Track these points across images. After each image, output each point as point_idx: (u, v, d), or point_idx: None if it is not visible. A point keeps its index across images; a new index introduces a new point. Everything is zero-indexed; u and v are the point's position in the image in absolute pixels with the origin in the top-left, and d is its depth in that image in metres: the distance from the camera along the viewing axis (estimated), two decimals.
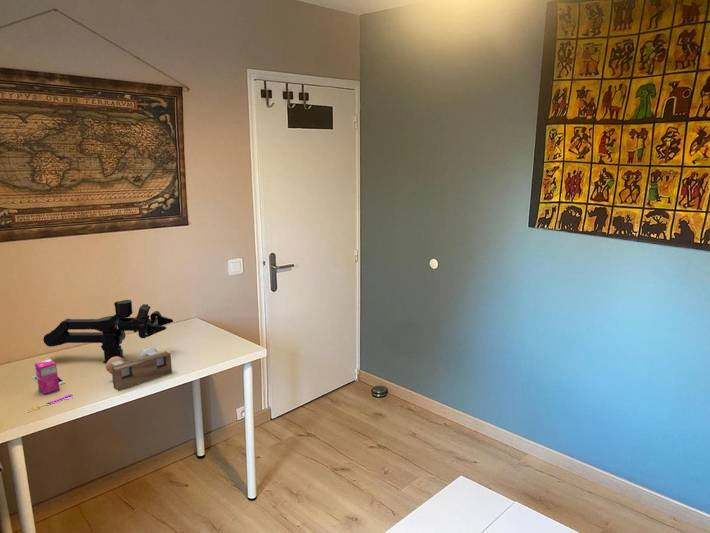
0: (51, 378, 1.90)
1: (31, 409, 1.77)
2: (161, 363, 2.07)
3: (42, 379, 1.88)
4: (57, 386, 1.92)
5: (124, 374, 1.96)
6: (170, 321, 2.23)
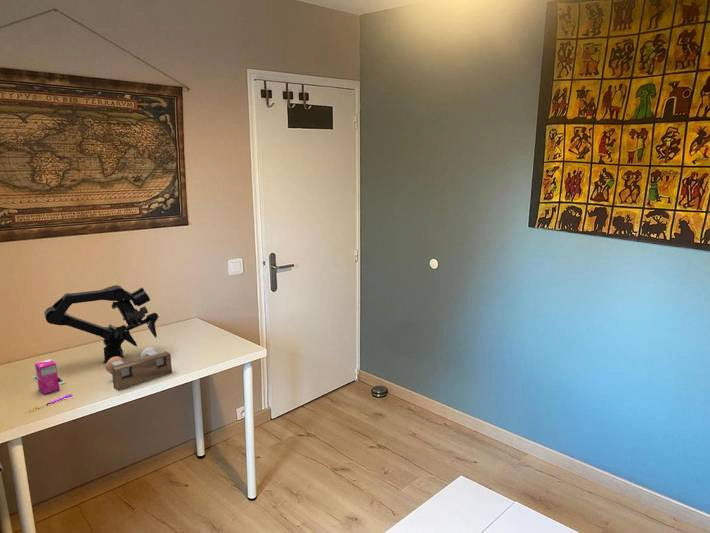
0: (51, 378, 1.90)
1: (31, 409, 1.77)
2: (161, 363, 2.07)
3: (42, 379, 1.88)
4: (57, 386, 1.92)
5: (124, 374, 1.96)
6: (154, 335, 2.21)
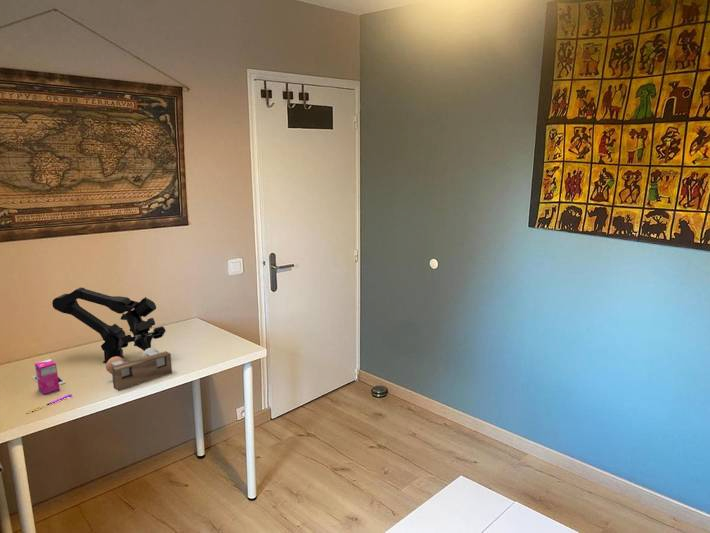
0: (51, 378, 1.90)
1: (32, 410, 1.77)
2: (162, 364, 2.06)
3: (42, 379, 1.88)
4: (57, 386, 1.92)
5: (124, 374, 1.96)
6: None
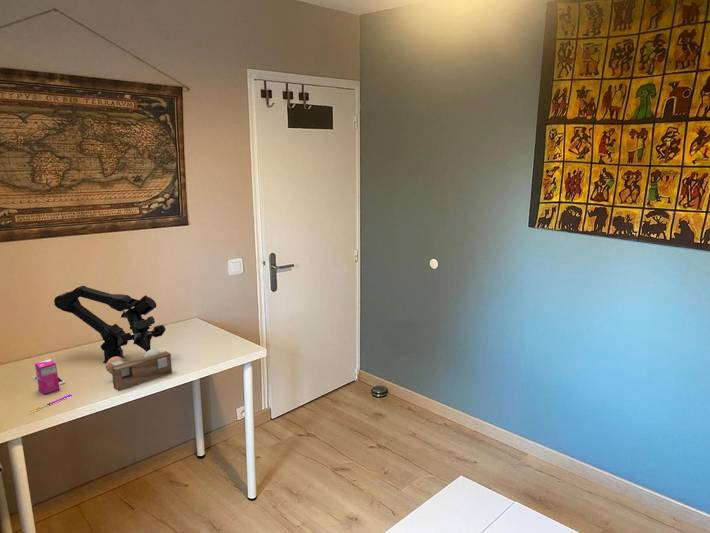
0: (51, 378, 1.90)
1: (33, 410, 1.77)
2: (164, 365, 2.05)
3: (42, 379, 1.88)
4: (57, 386, 1.92)
5: (124, 374, 1.96)
6: (148, 350, 2.11)
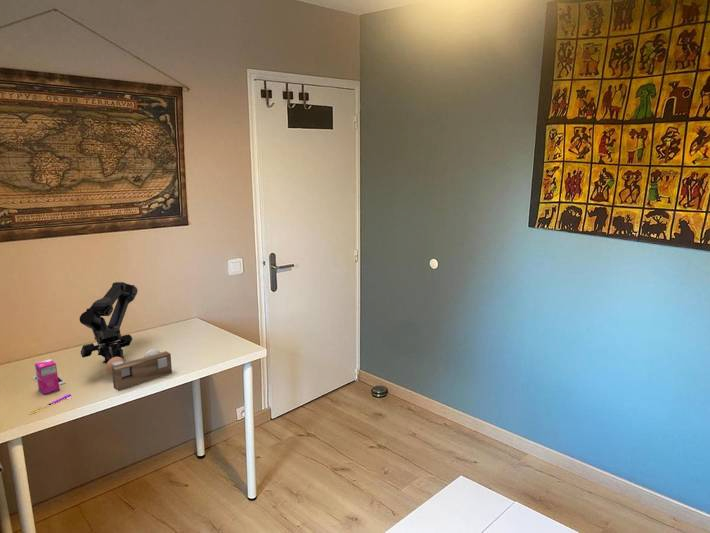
0: (51, 378, 1.90)
1: (34, 411, 1.76)
2: (164, 365, 2.05)
3: (42, 379, 1.88)
4: (57, 386, 1.92)
5: (124, 374, 1.96)
6: None
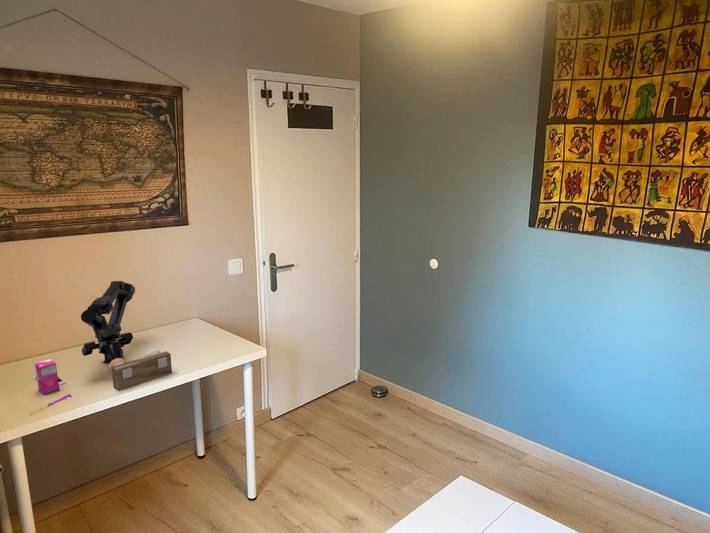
0: (51, 378, 1.90)
1: (35, 411, 1.76)
2: (164, 365, 2.05)
3: (42, 379, 1.88)
4: (57, 386, 1.92)
5: (127, 376, 1.94)
6: None
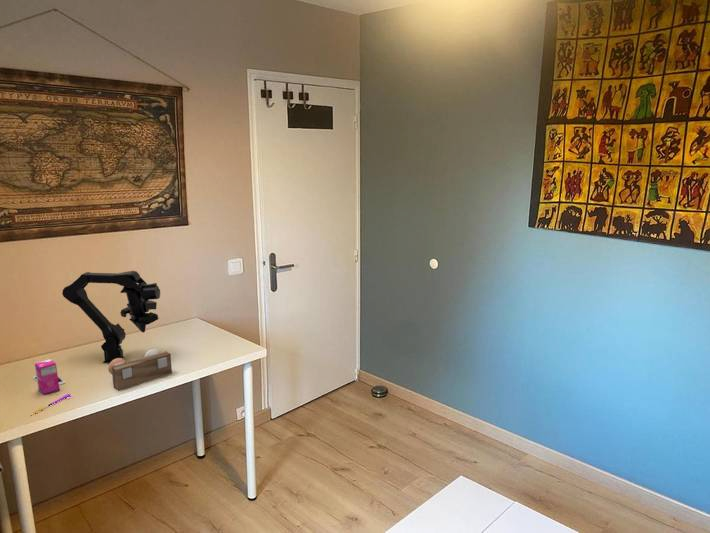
0: (51, 378, 1.90)
1: (36, 411, 1.76)
2: (164, 365, 2.05)
3: (42, 379, 1.88)
4: (57, 386, 1.92)
5: (127, 376, 1.94)
6: None
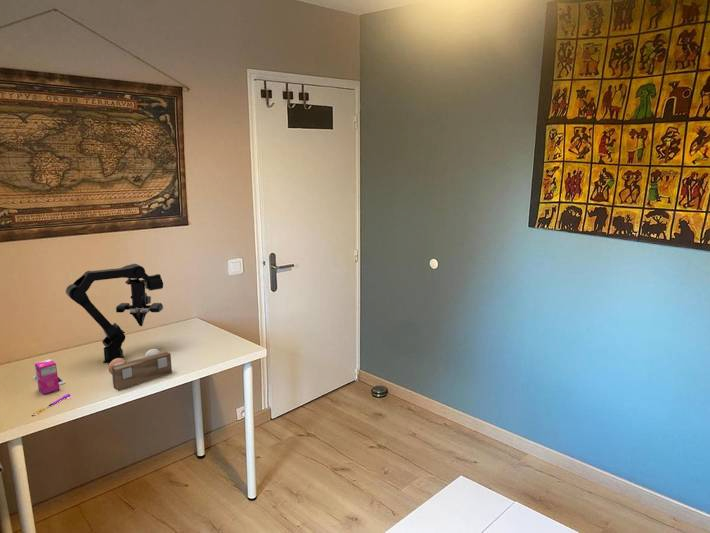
0: (51, 378, 1.90)
1: (37, 411, 1.76)
2: (164, 365, 2.05)
3: (42, 379, 1.88)
4: (57, 386, 1.92)
5: (127, 376, 1.94)
6: None
